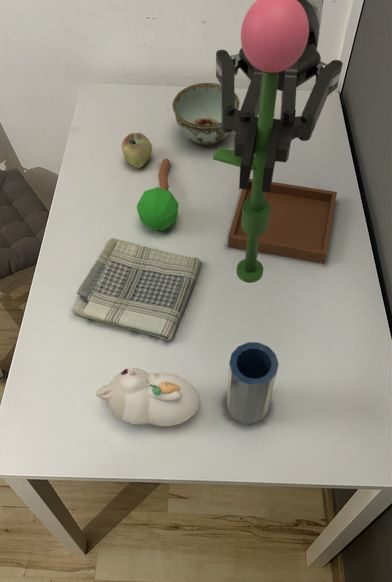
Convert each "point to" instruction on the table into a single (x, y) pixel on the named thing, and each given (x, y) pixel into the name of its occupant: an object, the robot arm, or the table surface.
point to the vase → (251, 382)
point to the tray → (291, 222)
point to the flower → (265, 105)
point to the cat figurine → (150, 397)
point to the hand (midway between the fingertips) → (255, 178)
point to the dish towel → (138, 288)
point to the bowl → (201, 113)
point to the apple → (136, 149)
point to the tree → (158, 203)
